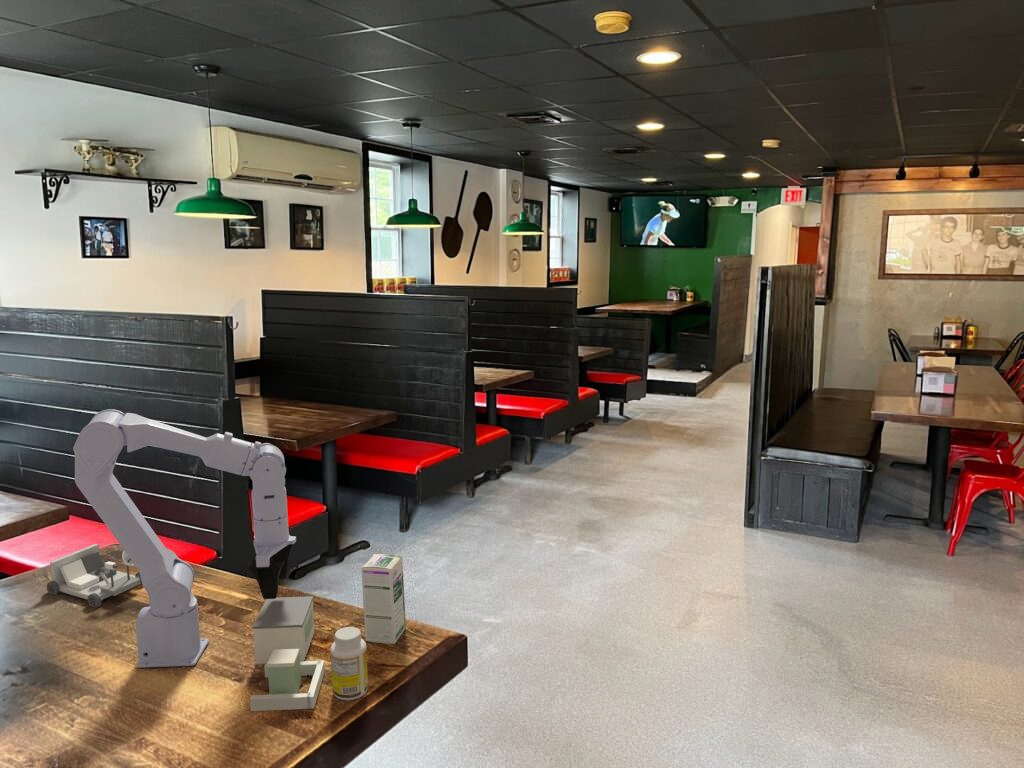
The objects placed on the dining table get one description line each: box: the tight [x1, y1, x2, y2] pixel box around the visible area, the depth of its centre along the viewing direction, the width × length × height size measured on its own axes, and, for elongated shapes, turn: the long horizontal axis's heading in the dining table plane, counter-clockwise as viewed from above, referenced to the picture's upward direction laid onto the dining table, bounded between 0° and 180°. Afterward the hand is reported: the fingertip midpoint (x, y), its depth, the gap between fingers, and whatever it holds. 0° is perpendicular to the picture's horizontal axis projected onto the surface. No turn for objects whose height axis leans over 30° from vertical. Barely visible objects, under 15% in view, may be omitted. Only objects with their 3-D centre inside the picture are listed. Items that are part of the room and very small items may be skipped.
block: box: [267, 649, 302, 695], centre depth 120 cm, size 4×4×6 cm
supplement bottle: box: [330, 626, 369, 701], centre depth 120 cm, size 6×6×10 cm
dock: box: [249, 660, 326, 712], centre depth 121 cm, size 10×10×2 cm
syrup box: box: [360, 553, 407, 645], centre depth 136 cm, size 6×6×14 cm
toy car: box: [46, 543, 143, 609], centre depth 154 cm, size 18×10×12 cm
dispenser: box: [251, 596, 315, 665], centre depth 133 cm, size 8×10×7 cm
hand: (275, 587), depth 134 cm, fingers open, 7 cm apart
